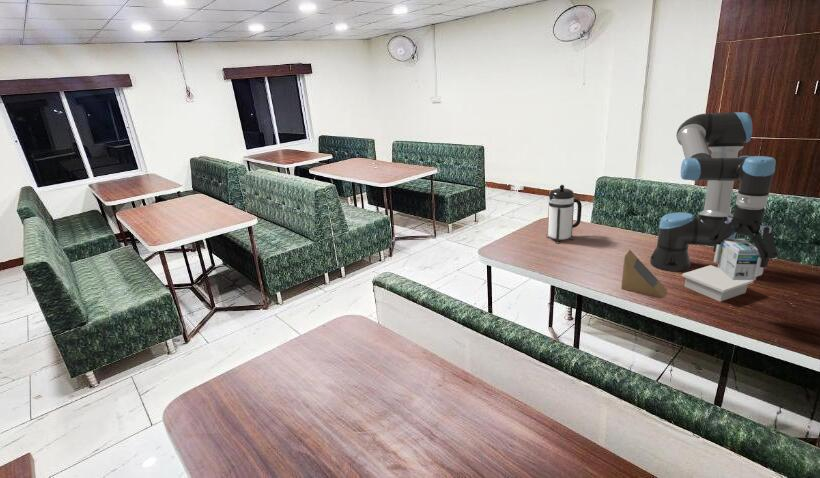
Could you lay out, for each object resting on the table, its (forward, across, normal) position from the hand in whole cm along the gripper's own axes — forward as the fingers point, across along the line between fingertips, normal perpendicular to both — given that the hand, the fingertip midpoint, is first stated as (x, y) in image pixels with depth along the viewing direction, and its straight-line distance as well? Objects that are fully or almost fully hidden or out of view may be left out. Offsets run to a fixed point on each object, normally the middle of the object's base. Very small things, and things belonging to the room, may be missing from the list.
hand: (736, 268), depth 137 cm
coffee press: (+19, -89, +3) cm, 91 cm away
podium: (+18, -14, +14) cm, 27 cm away
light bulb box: (+2, 0, 0) cm, 2 cm away
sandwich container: (+19, -27, -8) cm, 34 cm away
